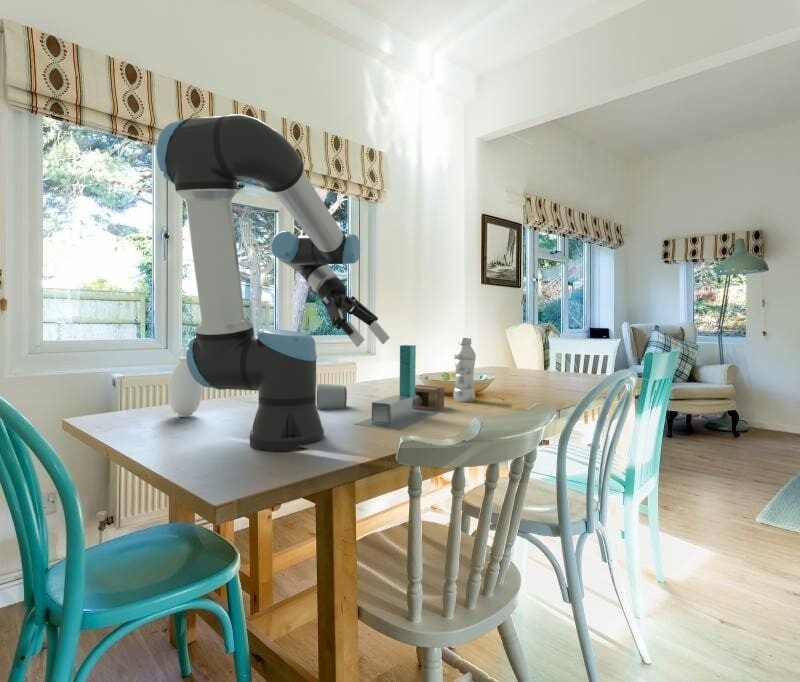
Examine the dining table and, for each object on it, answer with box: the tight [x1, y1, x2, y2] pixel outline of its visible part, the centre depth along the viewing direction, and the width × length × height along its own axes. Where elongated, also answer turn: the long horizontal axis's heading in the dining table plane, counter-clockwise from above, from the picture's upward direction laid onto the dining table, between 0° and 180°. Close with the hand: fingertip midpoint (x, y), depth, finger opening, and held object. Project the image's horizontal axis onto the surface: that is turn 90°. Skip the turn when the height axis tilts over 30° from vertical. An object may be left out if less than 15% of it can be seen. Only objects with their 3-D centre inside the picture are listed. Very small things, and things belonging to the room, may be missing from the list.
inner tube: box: [399, 344, 422, 409], centre depth 129 cm, size 17×3×17 cm, turn 153°
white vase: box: [168, 347, 202, 418], centre depth 131 cm, size 8×8×18 cm
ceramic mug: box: [316, 383, 348, 410], centre depth 143 cm, size 11×8×8 cm
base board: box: [354, 406, 452, 431], centre depth 131 cm, size 32×12×1 cm, turn 153°
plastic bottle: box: [452, 337, 477, 403], centre depth 154 cm, size 6×7×20 cm
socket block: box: [413, 384, 445, 411], centre depth 142 cm, size 6×8×6 cm
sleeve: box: [371, 394, 412, 426], centre depth 124 cm, size 12×5×5 cm, turn 153°
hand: (374, 342), depth 135 cm, fingers open, 13 cm apart
